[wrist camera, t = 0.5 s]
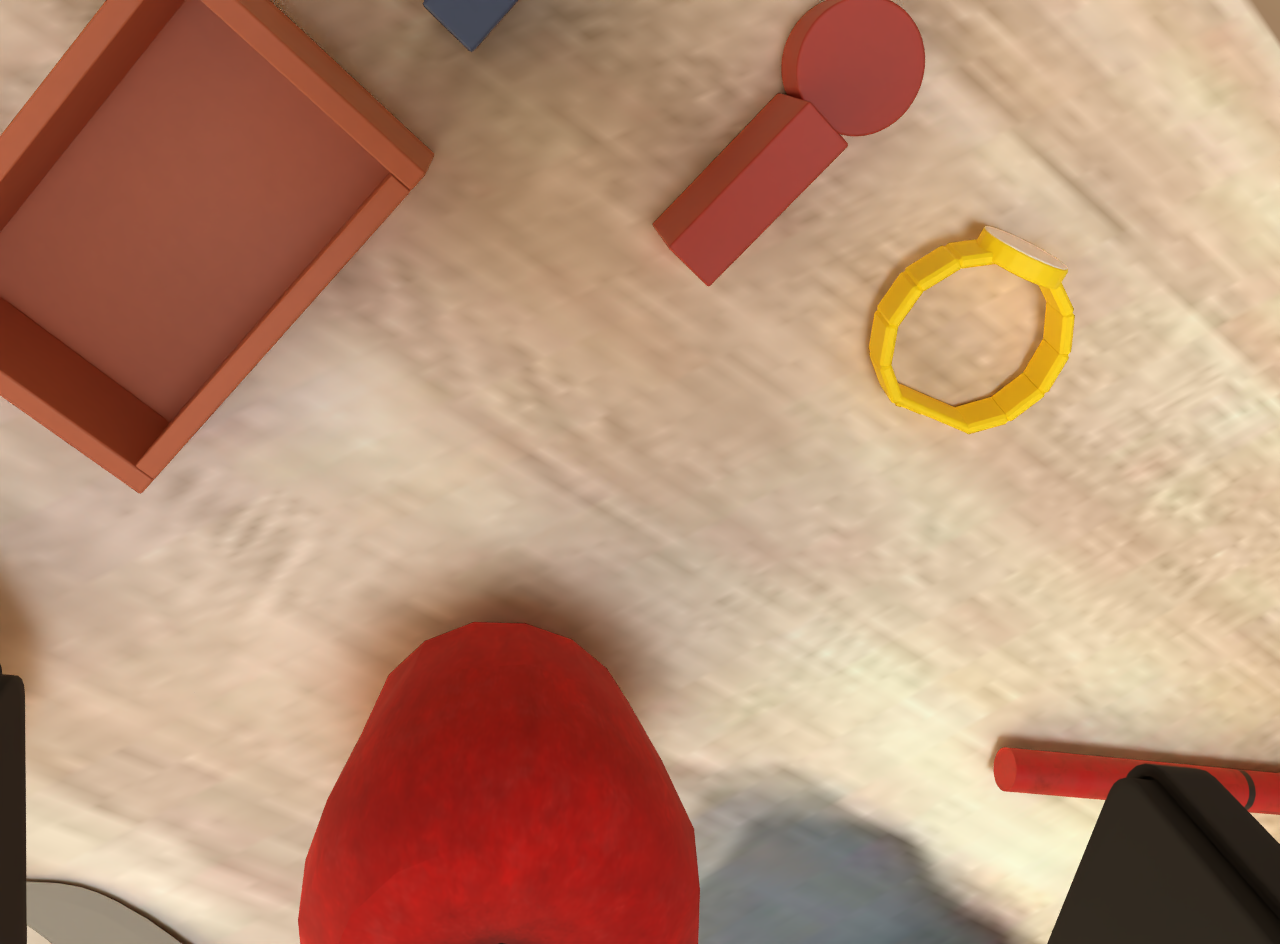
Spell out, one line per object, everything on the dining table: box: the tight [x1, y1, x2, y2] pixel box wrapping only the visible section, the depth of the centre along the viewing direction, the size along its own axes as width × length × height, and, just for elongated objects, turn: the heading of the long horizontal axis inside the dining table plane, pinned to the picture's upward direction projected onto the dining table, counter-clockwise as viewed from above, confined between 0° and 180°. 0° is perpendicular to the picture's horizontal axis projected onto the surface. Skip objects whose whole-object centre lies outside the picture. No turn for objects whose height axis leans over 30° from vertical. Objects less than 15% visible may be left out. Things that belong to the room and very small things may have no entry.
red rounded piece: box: [298, 622, 700, 944], centre depth 32 cm, size 11×10×14 cm
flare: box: [994, 747, 1280, 815], centre depth 42 cm, size 2×15×2 cm
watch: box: [869, 226, 1075, 434], centre depth 34 cm, size 6×3×6 cm
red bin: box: [0, 0, 434, 493], centre depth 29 cm, size 12×8×4 cm, turn 135°
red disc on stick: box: [653, 0, 925, 286], centre depth 30 cm, size 9×4×4 cm, turn 135°
